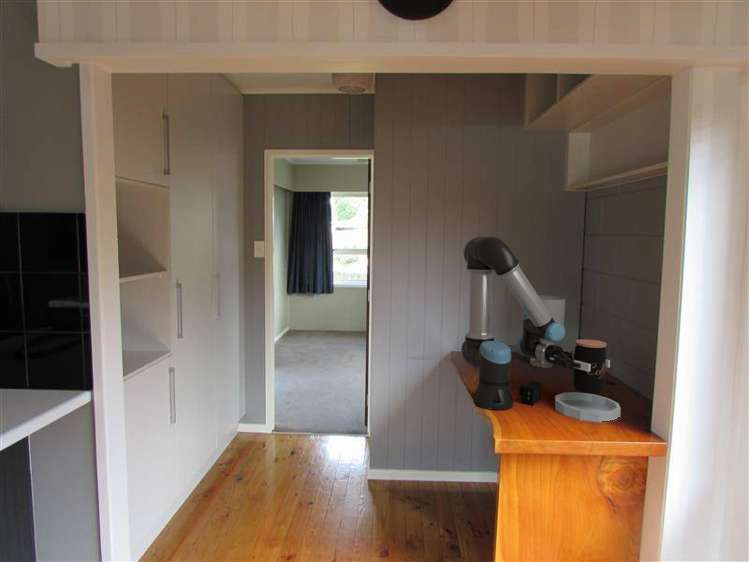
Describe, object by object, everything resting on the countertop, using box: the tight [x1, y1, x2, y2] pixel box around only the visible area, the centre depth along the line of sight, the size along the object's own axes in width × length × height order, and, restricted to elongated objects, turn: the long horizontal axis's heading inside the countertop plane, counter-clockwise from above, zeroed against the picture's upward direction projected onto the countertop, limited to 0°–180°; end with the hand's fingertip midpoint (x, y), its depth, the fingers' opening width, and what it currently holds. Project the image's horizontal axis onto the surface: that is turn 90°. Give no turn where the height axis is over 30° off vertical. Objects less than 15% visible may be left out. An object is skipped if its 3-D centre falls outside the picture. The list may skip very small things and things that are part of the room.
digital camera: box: [518, 380, 543, 407], centre depth 185 cm, size 10×5×7 cm, turn 142°
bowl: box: [554, 391, 622, 423], centre depth 176 cm, size 22×22×4 cm
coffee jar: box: [573, 338, 607, 395], centre depth 174 cm, size 11×11×18 cm
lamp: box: [522, 294, 566, 369], centre depth 241 cm, size 20×20×35 cm
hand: (599, 366), depth 171 cm, fingers closed on coffee jar, 11 cm apart
